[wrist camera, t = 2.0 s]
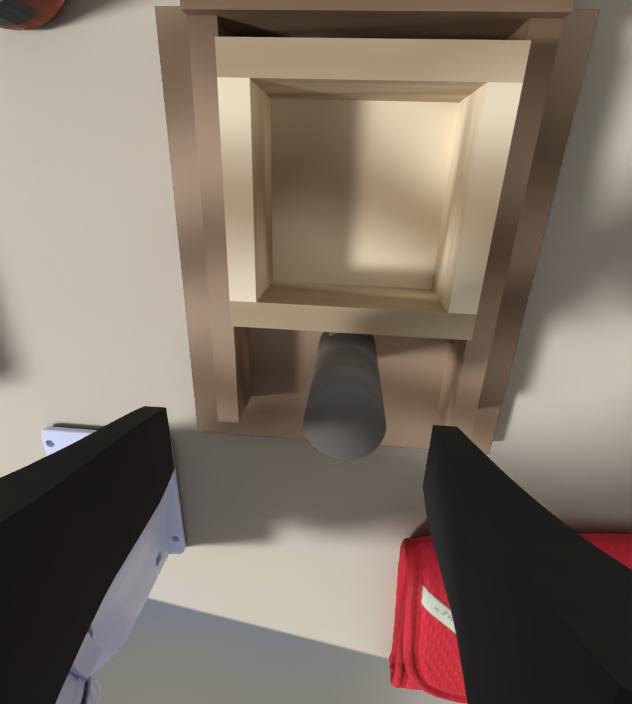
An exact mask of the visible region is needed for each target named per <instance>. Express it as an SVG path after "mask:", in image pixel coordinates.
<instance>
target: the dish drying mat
mask: <svg viewBox="0 0 632 704" xmlns="http://www.w3.org/2000/svg"><path fill="white" fill-rule="evenodd" d="M578 534H580V535H581V536H582V537H584V538H585V539H587V540H588V541H589V542H591V543H592V544H594V545H595V546H597V547H598V548H599V549H601V550H602V551H604V552H605V553H607V554H608V555H610V556H611V557H613V558H614V559H616V560H618V561H619V562H621V563H622V564H624V565H625V566H627V567H628V568H630V569H632V534H607V533H578ZM389 662H390V672H391V675H390V681H391V684H392V685H393V686H394V687H396V688H407V689H416V690H423V691H425V692H427V693H429V694H431V695H433V696H435V697H438V698H443V699H446V700H450V701H454V702H459V703H467V698H466V692H465V685H464V679H463V673H462V667H461V661H460V655H459V649H458V643H457V637H456V632H455V627H454V622H453V618H452V614H451V609H450V605H449V602H448V598H447V594H446V590H445V587H444V583H443V579H442V575H441V572H440V568H439V564H438V560H437V556H436V553H435V549H434V545H433V541H432V537H431V536H422V537H419V538H416V539H411V538H405V539H404V540H403V542H402V544H401V548H400V557H399V565H398V578H397V591H396V608H395V622H394V632H393V645H392V651H391V654H390V656H389Z"/></svg>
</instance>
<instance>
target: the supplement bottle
mask: <svg viewBox="0 0 632 704" xmlns="http://www.w3.org/2000/svg"><path fill="white" fill-rule="evenodd" d="M65 1H66V0H0V27H1V28H5V29H12V30H29V29H33V28H37V27H39V26H41V25H43V24H45V23H47V22H48V21H49V20H51V19H52V18H53V17H54V16H55V15H56V14H57V13H58V11H59V10H60V9H61V7H62V6H63V4H64V3H65Z"/></svg>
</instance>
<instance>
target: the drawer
mask: <svg viewBox="0 0 632 704" xmlns="http://www.w3.org/2000/svg"><path fill="white" fill-rule="evenodd" d="M530 45H531V40H458V39H374V38H290V37H215V49H216V67H217V85H218V103H219V121H220V139H221V157H222V174H223V192H224V210H225V228H226V246H227V264H228V282H229V299H230V317H231V326H236V327H253V328H270V329H287V330H304V331H321V332H323V333H322V335H321V337H320V341H319V345H318V350H317V355H316V360H315V365H314V370H313V375H312V379H311V384H310V389H309V394H308V399H307V404H306V409H305V414H304V419H303V429H304V433H305V436H306V438H307V440H308V441H309V443H310V444H311V445H312V446H313V447H314V448H315V449H316V450H317V451H318V452H320V453H322V454H323V455H325V456H328V457H330V458H334V459H339V460H353V459H358V458H361V457H364V456H366V455H368V454H370V453H371V452H373V451H374V450H375V449H376V448H377V447H378V446H379V445H380V444H381V442H382V440H383V438H384V436H385V433H386V418H385V411H384V403H383V396H382V389H381V382H380V374H379V367H378V360H377V352H376V345H375V340H374V337H373V335H389V336H406V337H423V338H440V339H457V340H472V335H473V330H474V325H475V320H476V315H477V310H478V305H479V300H480V295H481V290H482V285H483V280H484V275H485V270H486V265H487V260H488V255H489V250H490V245H491V240H492V235H493V230H494V225H495V220H496V215H497V210H498V205H499V200H500V195H501V190H502V185H503V180H504V175H505V170H506V165H507V160H508V155H509V150H510V145H511V140H512V135H513V130H514V125H515V120H516V115H517V110H518V105H519V100H520V95H521V90H522V85H523V80H524V75H525V70H526V65H527V60H528V55H529V50H530Z"/></svg>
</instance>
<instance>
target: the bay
mask: <svg viewBox="0 0 632 704" xmlns="http://www.w3.org/2000/svg"><path fill="white" fill-rule="evenodd" d="M574 2H575V0H180V6H155V14H156V24H157V33H158V43H159V53H160V63H161V73H162V82H163V92H164V102H165V112H166V122H167V132H168V141H169V151H170V161H171V171H172V181H173V190H174V200H175V210H176V220H177V230H178V240H179V249H180V259H181V269H182V279H183V289H184V298H185V308H186V318H187V328H188V338H189V347H190V357H191V367H192V377H193V387H194V397H195V406H196V416H197V426H198V432H210V433H223V434H236V435H249V436H263V437H276V438H289V439H302V440H307V438H306V436H305V433H304V429H303V419H304V414H305V409H306V404H307V399H308V394H309V389H310V384H311V379H312V375H313V370H314V365H315V360H316V355H317V350H318V345H319V341H320V337H321V335H322V333H323V332H321V331H304V330H287V329H270V328H253V327H236V326H231V317H230V299H229V282H228V264H227V246H226V228H225V210H224V192H223V174H222V157H221V139H220V121H219V103H218V85H217V67H216V49H215V37H290V38H374V39H458V40H531V45H530V50H529V55H528V60H527V65H526V70H525V75H524V80H523V85H522V90H521V95H520V100H519V105H518V110H517V115H516V120H515V125H514V130H513V135H512V140H511V145H510V150H509V155H508V160H507V165H506V170H505V175H504V180H503V185H502V190H501V195H500V200H499V205H498V210H497V215H496V220H495V225H494V230H493V235H492V240H491V245H490V250H489V255H488V260H487V265H486V270H485V275H484V280H483V285H482V290H481V295H480V300H479V305H478V310H477V315H476V320H475V325H474V330H473V335H472V340H457V339H440V338H423V337H406V336H389V335H373V337H374V340H375V345H376V352H377V360H378V367H379V374H380V382H381V389H382V396H383V403H384V411H385V418H386V433H385V436H384V438H383V440H382V442H381V444H380V446H393V447H407V448H420V449H429V446H430V440H431V433H432V427H433V425H442V426H457V427H458V428H459V429H460V430H461V431H462V432H463V433H464V434H465V435H466V436H467V437H468V438H469V439H470V440H471V441H472V442H473V443H474V444H475V445H476V446H477V447H478V448H479V449H480V450H481V451H482V452H483V453H485V454H489V453H490V449H491V445H492V441H493V437H494V433H495V429H496V425H497V420H498V416H499V412H500V408H501V404H502V400H503V396H504V392H505V388H506V384H507V380H508V376H509V372H510V368H511V364H512V360H513V356H514V352H515V348H516V344H517V340H518V336H519V332H520V328H521V324H522V320H523V316H524V312H525V308H526V304H527V300H528V296H529V292H530V288H531V284H532V280H533V276H534V272H535V268H536V264H537V260H538V256H539V252H540V248H541V244H542V240H543V236H544V232H545V228H546V223H547V219H548V215H549V211H550V207H551V203H552V199H553V195H554V191H555V187H556V183H557V179H558V175H559V171H560V167H561V163H562V159H563V155H564V151H565V147H566V143H567V139H568V135H569V131H570V127H571V123H572V119H573V115H574V111H575V107H576V103H577V99H578V95H579V91H580V87H581V83H582V79H583V75H584V71H585V67H586V63H587V59H588V55H589V51H590V47H591V43H592V39H593V35H594V31H595V26H596V22H597V18H598V14H599V10H600V9H573V6H574Z"/></svg>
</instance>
